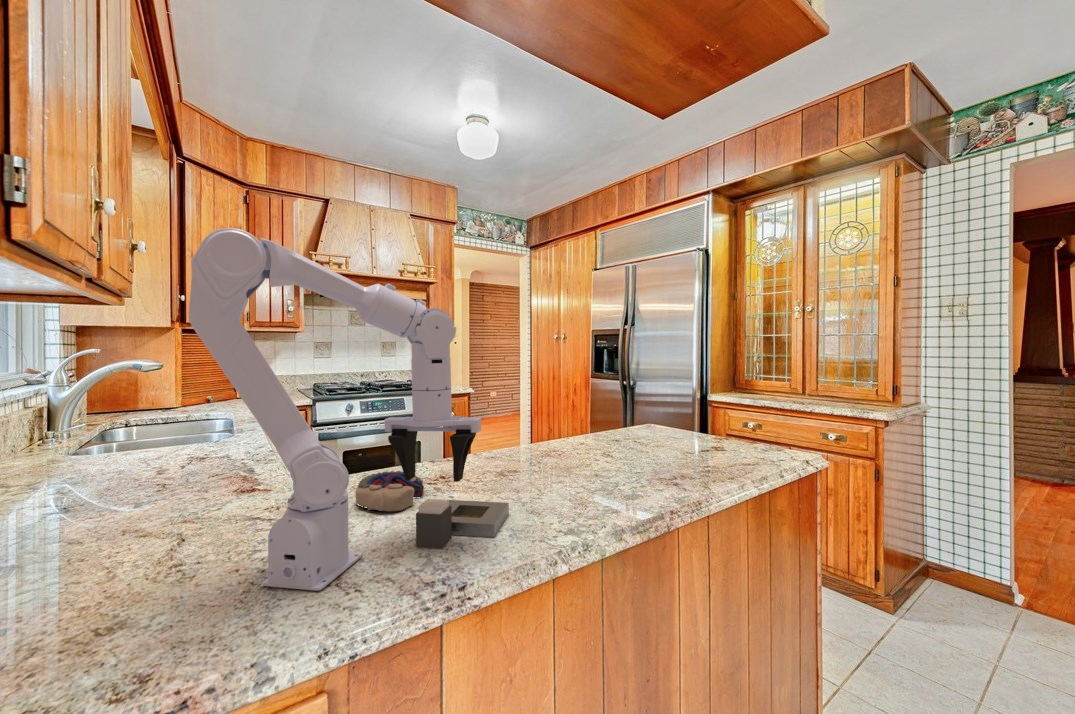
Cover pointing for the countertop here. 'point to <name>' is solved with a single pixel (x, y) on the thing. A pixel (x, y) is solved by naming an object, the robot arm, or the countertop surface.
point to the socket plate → (477, 517)
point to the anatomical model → (388, 491)
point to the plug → (433, 524)
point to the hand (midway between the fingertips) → (434, 479)
